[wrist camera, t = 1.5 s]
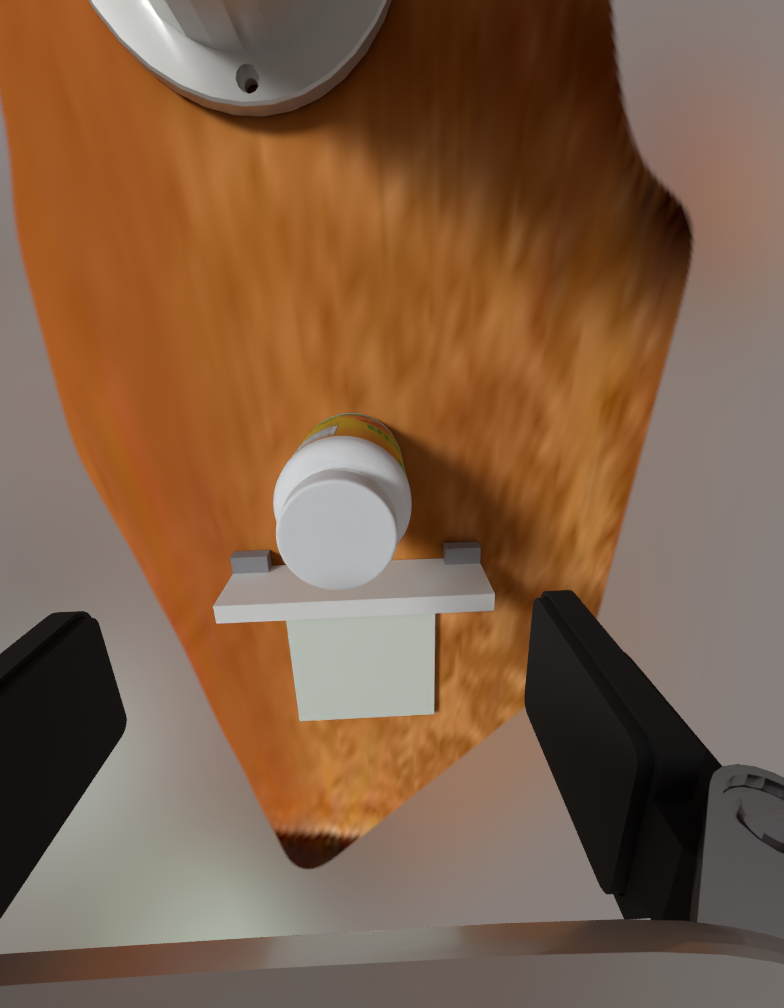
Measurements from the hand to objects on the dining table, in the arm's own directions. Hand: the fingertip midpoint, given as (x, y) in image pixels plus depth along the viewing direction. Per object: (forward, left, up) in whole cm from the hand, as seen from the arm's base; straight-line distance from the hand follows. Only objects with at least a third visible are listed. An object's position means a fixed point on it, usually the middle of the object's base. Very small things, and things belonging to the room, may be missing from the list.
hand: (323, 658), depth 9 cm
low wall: (+6, 0, -15) cm, 16 cm away
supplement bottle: (-1, 0, -15) cm, 15 cm away
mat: (+12, 0, -15) cm, 19 cm away
